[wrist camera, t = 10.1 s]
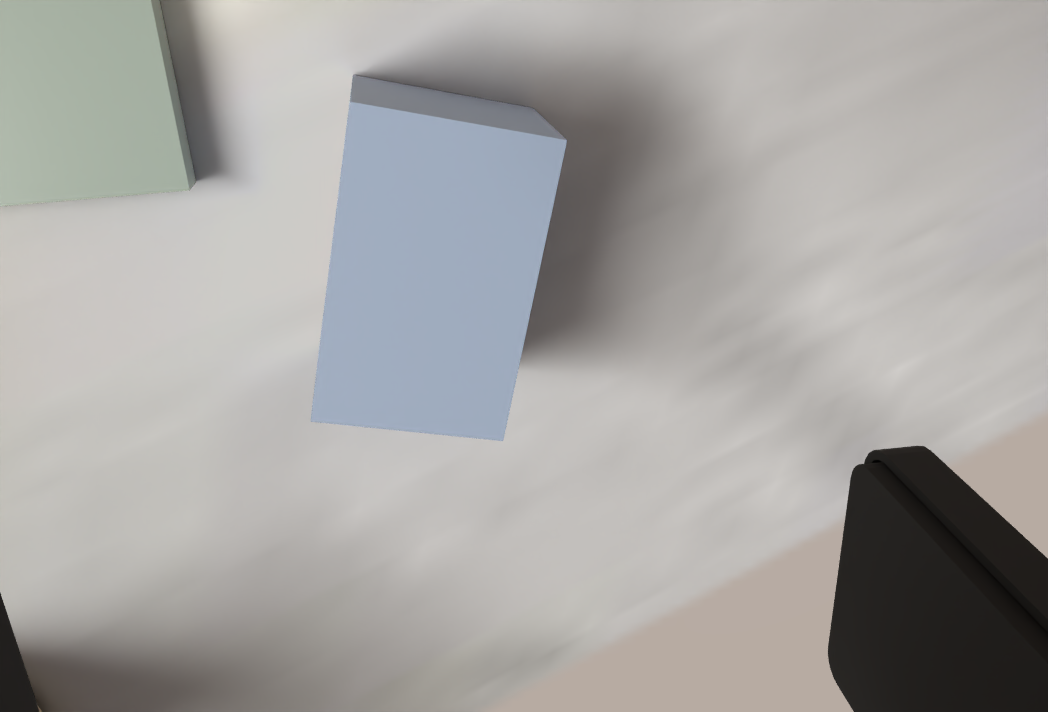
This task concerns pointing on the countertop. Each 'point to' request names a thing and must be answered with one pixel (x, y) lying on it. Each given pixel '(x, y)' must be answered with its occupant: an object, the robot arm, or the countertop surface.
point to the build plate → (88, 102)
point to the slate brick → (433, 260)
